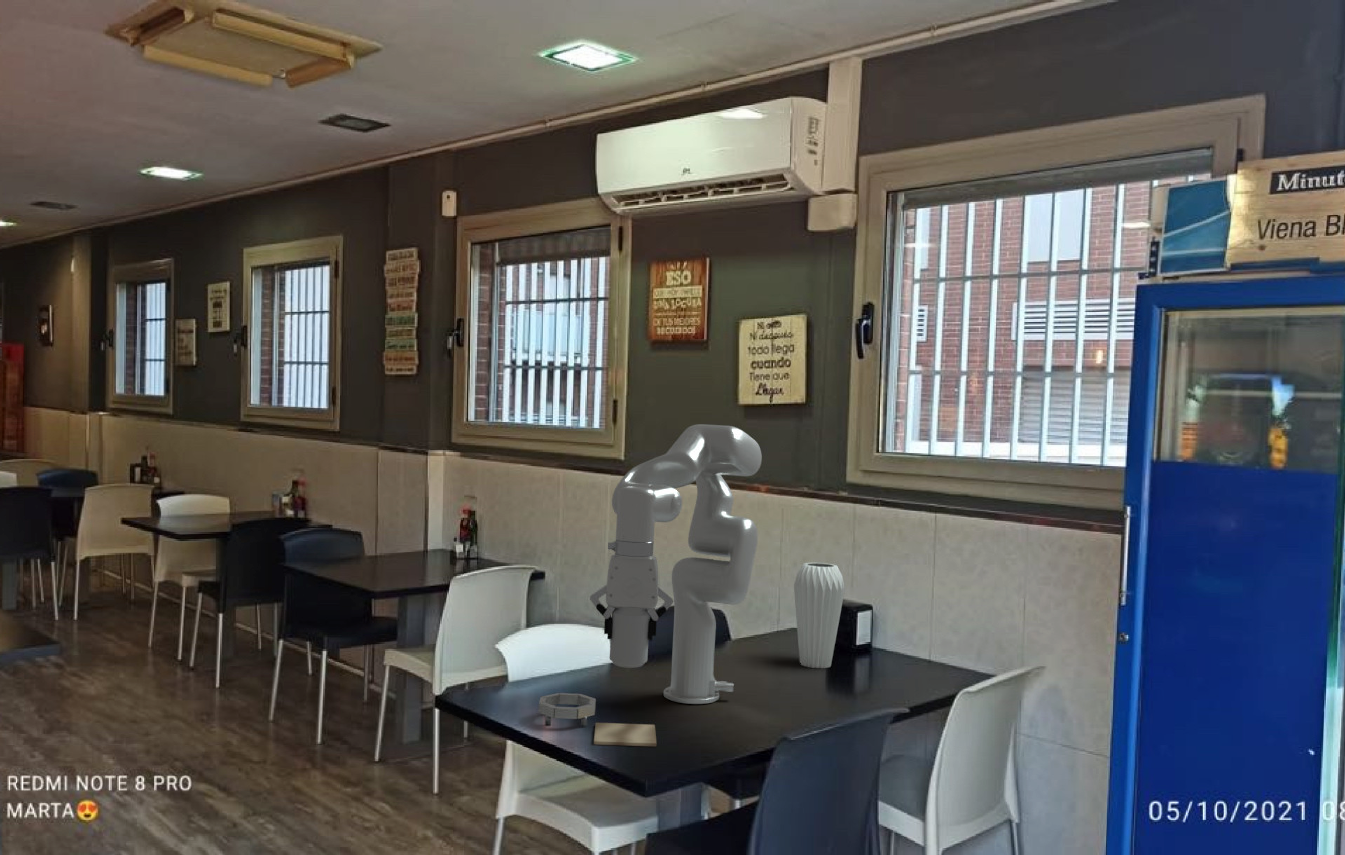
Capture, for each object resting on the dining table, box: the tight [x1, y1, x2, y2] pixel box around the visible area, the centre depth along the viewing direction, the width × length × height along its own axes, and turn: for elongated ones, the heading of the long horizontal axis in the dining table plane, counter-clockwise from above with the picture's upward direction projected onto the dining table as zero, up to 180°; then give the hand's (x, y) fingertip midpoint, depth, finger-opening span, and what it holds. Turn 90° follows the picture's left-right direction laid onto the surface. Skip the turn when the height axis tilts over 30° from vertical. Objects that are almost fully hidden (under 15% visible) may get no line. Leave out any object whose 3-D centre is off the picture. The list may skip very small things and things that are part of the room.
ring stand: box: [538, 692, 597, 728], centre depth 216 cm, size 11×11×4 cm
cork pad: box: [593, 722, 657, 747], centre depth 207 cm, size 12×12×1 cm
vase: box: [793, 562, 845, 669], centre depth 275 cm, size 13×13×26 cm
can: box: [609, 607, 651, 669], centre depth 207 cm, size 8×8×12 cm
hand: (629, 638), depth 207 cm, fingers closed on can, 7 cm apart
